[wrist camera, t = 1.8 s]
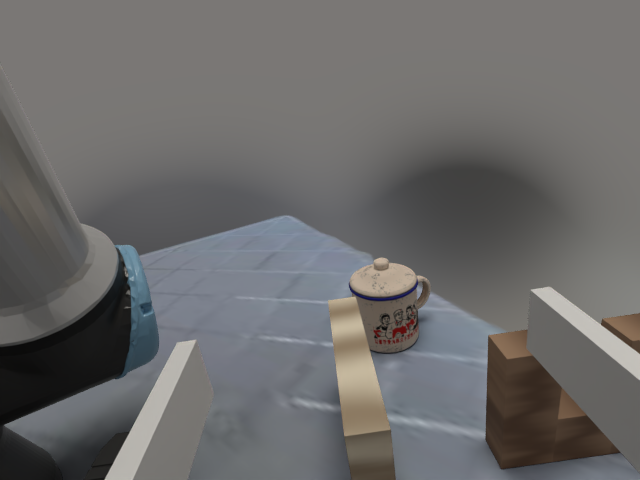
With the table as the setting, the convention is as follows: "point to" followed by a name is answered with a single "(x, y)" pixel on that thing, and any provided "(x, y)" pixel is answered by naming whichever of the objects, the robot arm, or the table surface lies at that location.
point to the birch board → (360, 396)
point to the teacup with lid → (389, 304)
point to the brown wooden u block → (540, 404)
